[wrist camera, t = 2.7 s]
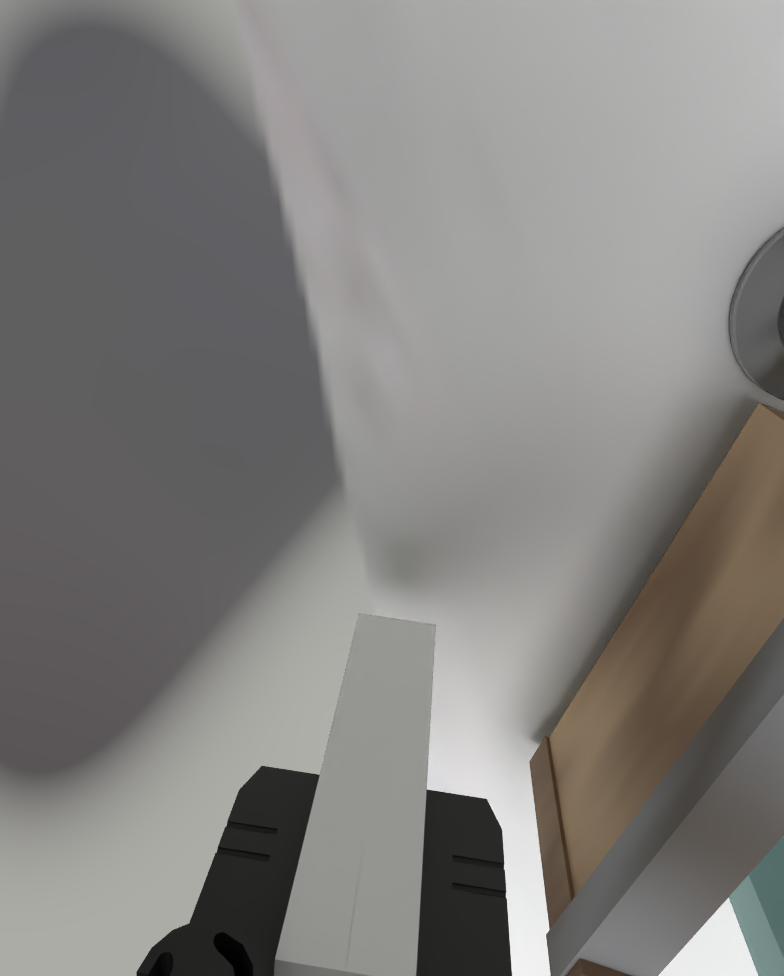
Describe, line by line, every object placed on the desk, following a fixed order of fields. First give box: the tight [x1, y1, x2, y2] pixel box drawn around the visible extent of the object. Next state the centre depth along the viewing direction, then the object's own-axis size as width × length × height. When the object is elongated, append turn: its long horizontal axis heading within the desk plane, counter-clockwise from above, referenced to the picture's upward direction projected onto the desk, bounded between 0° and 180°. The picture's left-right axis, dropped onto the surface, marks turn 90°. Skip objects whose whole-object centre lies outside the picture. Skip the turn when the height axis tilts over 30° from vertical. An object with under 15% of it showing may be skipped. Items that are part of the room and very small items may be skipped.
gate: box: [530, 403, 784, 976], centre depth 14 cm, size 11×2×6 cm, turn 160°
